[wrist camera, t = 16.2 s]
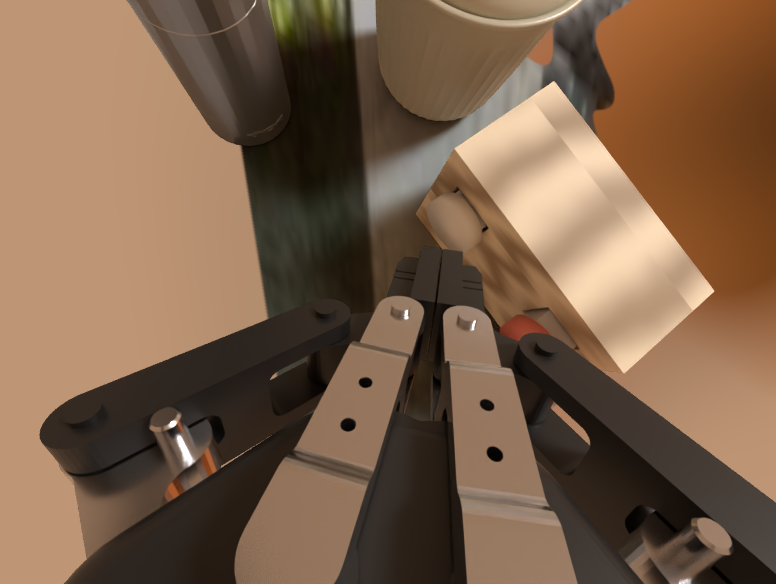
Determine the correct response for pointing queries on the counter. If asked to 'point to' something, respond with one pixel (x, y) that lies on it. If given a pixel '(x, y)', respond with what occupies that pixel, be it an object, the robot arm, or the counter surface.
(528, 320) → the red plug
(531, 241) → the block
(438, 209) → the beige plug
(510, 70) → the canister
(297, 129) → the counter surface
